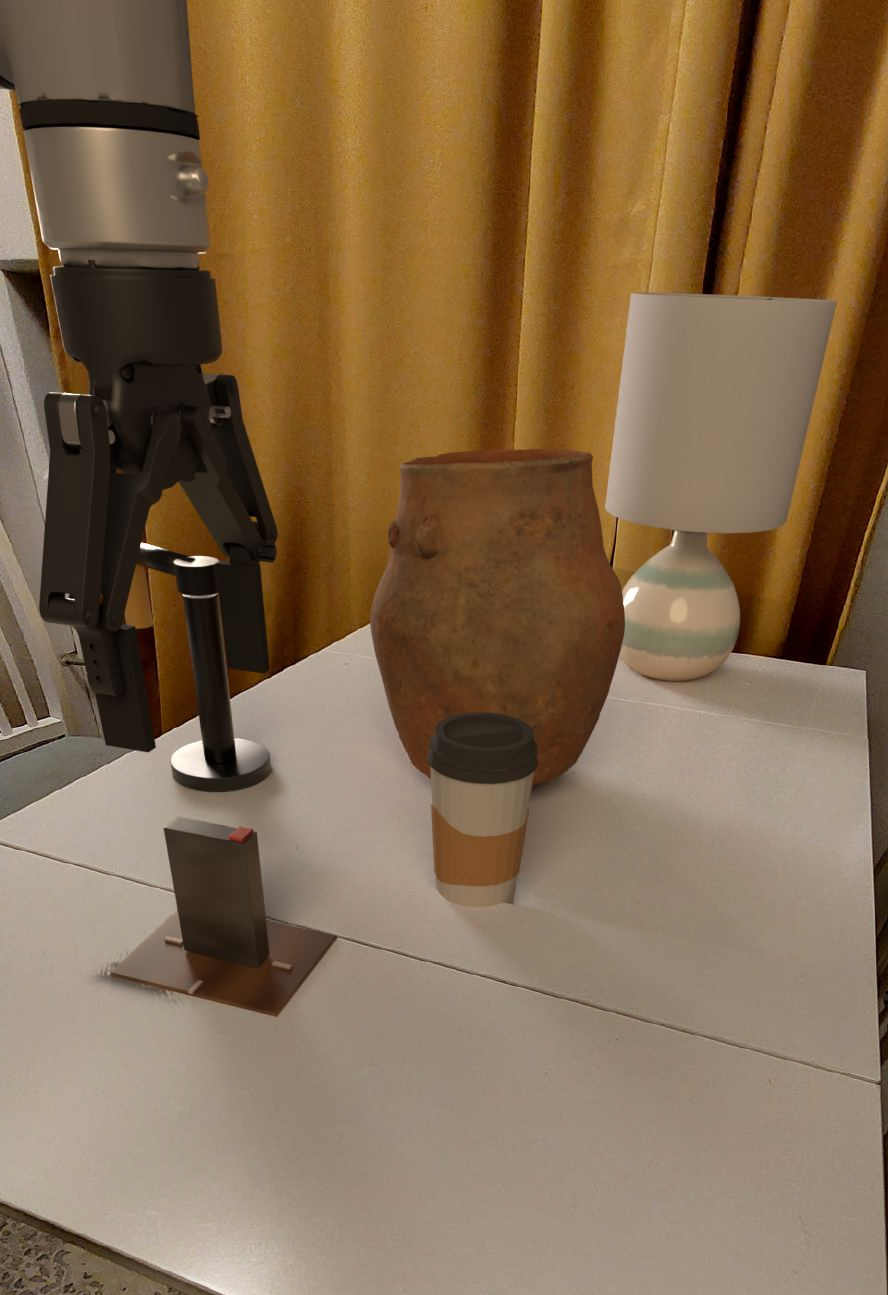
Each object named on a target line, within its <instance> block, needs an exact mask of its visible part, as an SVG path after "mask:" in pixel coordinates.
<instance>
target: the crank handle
mask: <svg viewBox="0 0 888 1295" xmlns="http://www.w3.org/2000/svg"><path fill="white" fill-rule="evenodd" d="M219 561H220V560H219V559H218V558H216V557H212V556H207V555H206V556H205V555H191V556H190V555H187V554H183V553H179V552H176V551H172V550H169V549H165V548H161V547H158V546H155V545H151V544H148V543H144V542H141V546H140V551H139V555H138V559H137V563H136V567H135V571H134V576H133V580H132V584H131V588H130V592H129V596H128V600H127V605H126V609H125V613H124V617H125V625H132V626H135V629H137V630H138V629H139V630H140V629H147V628H151V627H152V626H153V625H154V620H153V613H152V608H151V601H150V595H149V594H150V593H149V588H148V581H147V575H146V568H147V569H150V570H154V571H158V572H160V573H164V574H167V575H171V576H173V577H175V583H176V590H177V592H178V593H179V594H180V595H182V596H183V595H188V596H208V595H213V594H217V593H218V594H219V590H218V582H217V574H216V565H215V563H217V562H219Z"/></svg>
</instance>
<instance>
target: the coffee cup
mask: <svg viewBox="0 0 888 1295" xmlns="http://www.w3.org/2000/svg"><path fill="white" fill-rule="evenodd" d="M537 753H538V748H537V743H536V742H535V741H534V735H533V730H532V728H531V727H530V726H529V725H528V724H526V723H525V722H523V721H522V720H519V719H516V718H514V717H511V716H507V715H503V714H496V713H484V712H474V713H463V714H458V715H453V716H450V717H447V718H445V719H443V720H442V721H440V722H439V723H438V724H437V726H436V728H435V735H434V736H433V737H432V738H431V740H430V744H429V753H428V760H427V761H428V763H429V764H430V769H431V779H430V786H431V788H430V789H431V804H430V810H431V811H430V812H431V831H432V832H431V833H432V852H433V853H432V855H433V869H434V870H433V871H434V875H435V890H437V892H438V893H439V895H440V896H442V898H444V899H445V900H447V901H449V902H450V903H453V904H457V905H460V906H463V907H470V908H486V907H494V906H497V905H501V904H502V903H504V904H509V905H513V903H514V900H515V893H516V887H517V881H518V875H519V873H520V868H521V862H522V855H523V851H524V850H523V849H524V843H525V837H526V831H527V825H528V821H529V820H528V819H529V815H530V811H529V810H530V801H531V796H532V795H531V794H532V788H533V785H532V783H533V777H534V771H535V770H536V768H537V766H538V760H537Z"/></svg>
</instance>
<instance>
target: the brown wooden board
mask: <svg viewBox="0 0 888 1295" xmlns="http://www.w3.org/2000/svg"><path fill="white" fill-rule="evenodd" d="M266 924H267V934H268V944H269V953H270V954H269V956H268V957H267V958H266V959H265V961H264V962H263V963H262V964H261V965H260V967H259V968H256V967H252V966H248V965H244V964H239V963H235V962H231V961H226V960H222V959H218V958H214V957H209V956H205V955H201V954H197V953H192V952H188V951H185V950H184V945H183V939H182V933H181V927H180V922H179V916H178V910H177V909H176V910H174V912H173V913H172V914H170V916H169V917H167V919H165V920H164V921H163V922H162V923H161V924H160V925H159V926H158V927H157V928H156V929H155V930H154V931H153V932H152V933H150V934H149V935H148V936H147V937H146V938H145V939H144V940H143V941H142V942H141V943H140V944H139V945H138V946H137V947H136V948H135V949H133V951H131V952H130V954H129V955H128V956H126V957H125V958H124V959H123V960H122V961H121V962H120V963H119V964H118V965H117V966H116V967H114V969H113V970H111V971H110V973H109V974H110V977H113V978H117V979H121V980H124V981H129V982H133V983H136V984H137V983H138V984H142V985H146V986H149V987H153V988H157V989H162V990H166V991H168V992H169V991H170V992H173V993H177V994H182V995H186V996H190V997H194V998H198V999H201V1000H202V999H203V1000H206V1001H211V1002H214V1003H219V1004H223V1005H226V1006H231V1007H234V1008H238V1009H242V1010H247V1011H250V1012H255V1013H259V1014H263V1015H267V1016H271V1017H275V1018H278V1017H279V1016H280V1014H281V1013H282V1011H283V1010H284V1009H285V1008H286V1007H287V1005H288V1004H289V1003H290V1001H291V1000H292V999H293V997H294V996H295V995H296V993H297V992H298V990H299V989H300V988H301V987H302V985H303V984H304V983H305V981H306V980H307V979H308V978H309V976H310V975H311V973H312V972H313V971H314V970H315V968H316V967H317V966H318V964H320V962H321V961H322V959H323V958H324V956H325V955H327V953H328V951H329V950H330V948H331V947H332V946H333V945H334V943H335V942H336V941H337V939H338V935H336V934H331V933H328V932H327V933H326V932H323V931H318V930H314V929H310V928H304V927H300V926H295V925H290V924H286V923H283V922H282V923H281V922H277V921H272V920H268V919H266Z"/></svg>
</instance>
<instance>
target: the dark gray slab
mask: <svg viewBox="0 0 888 1295" xmlns="http://www.w3.org/2000/svg"><path fill="white" fill-rule="evenodd" d="M163 834H164V839H165V844H166V845H165V846H166V852H167V856H168V857H167V858H168V863H169V868H170V874H171V880H172V886H173V891H174V892H173V893H174V897H175V904H176V910H178V916H179V922H180V927H181V933H182V939H183V945H184V950H185V951H188V952H192V953H197V954H201V955H205V956H209V957H214V958H218V959H222V960H226V961H231V962H235V963H239V964H244V965H248V966H252V967H256V968H259V967H260V965H261V964H262V963H263V962H264V961H265V959H266V958H267V957H268V956H269V954H270V953H269V944H268V934H267V924H266V920H267V916H266V906H265V898H264V897H265V896H264V887H263V877H262V868H261V859H260V858H261V857H260V849H259V848H260V847H259V839H258V832H257V831H254V828H250V827H244V826H238V827H233V826H229V825H223V824H218V823H214V822H208V821H202V820H197V819H192V818H189V817H182V816H176V817H174V819H173V820H172V821H170V822H168V824H166V825H165V826H163Z"/></svg>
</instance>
